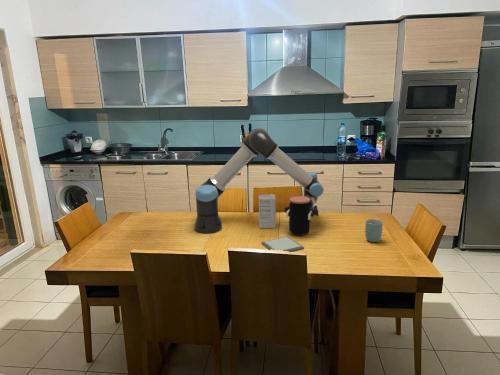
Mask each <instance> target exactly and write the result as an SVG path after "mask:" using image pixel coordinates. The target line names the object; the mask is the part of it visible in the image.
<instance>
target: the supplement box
mask: <svg viewBox="0 0 500 375" xmlns="http://www.w3.org/2000/svg"><path fill="white" fill-rule="evenodd" d="M276 200H277V199H276V195H275V194H258V227H259V229H276V228H277V226H276V224H277V223H276V222H277V217H276V216H277V214H276V212H277V209H276V208H277V206H276V205H277V204H276V203H277V201H276Z"/></svg>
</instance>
